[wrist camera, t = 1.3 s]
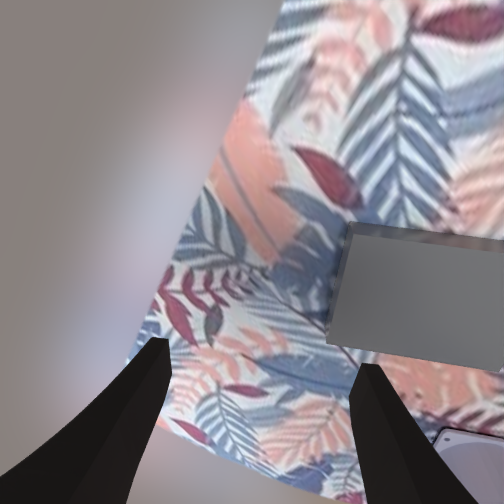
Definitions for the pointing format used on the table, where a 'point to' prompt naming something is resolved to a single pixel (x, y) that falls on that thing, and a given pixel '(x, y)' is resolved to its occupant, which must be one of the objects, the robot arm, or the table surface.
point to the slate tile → (420, 296)
